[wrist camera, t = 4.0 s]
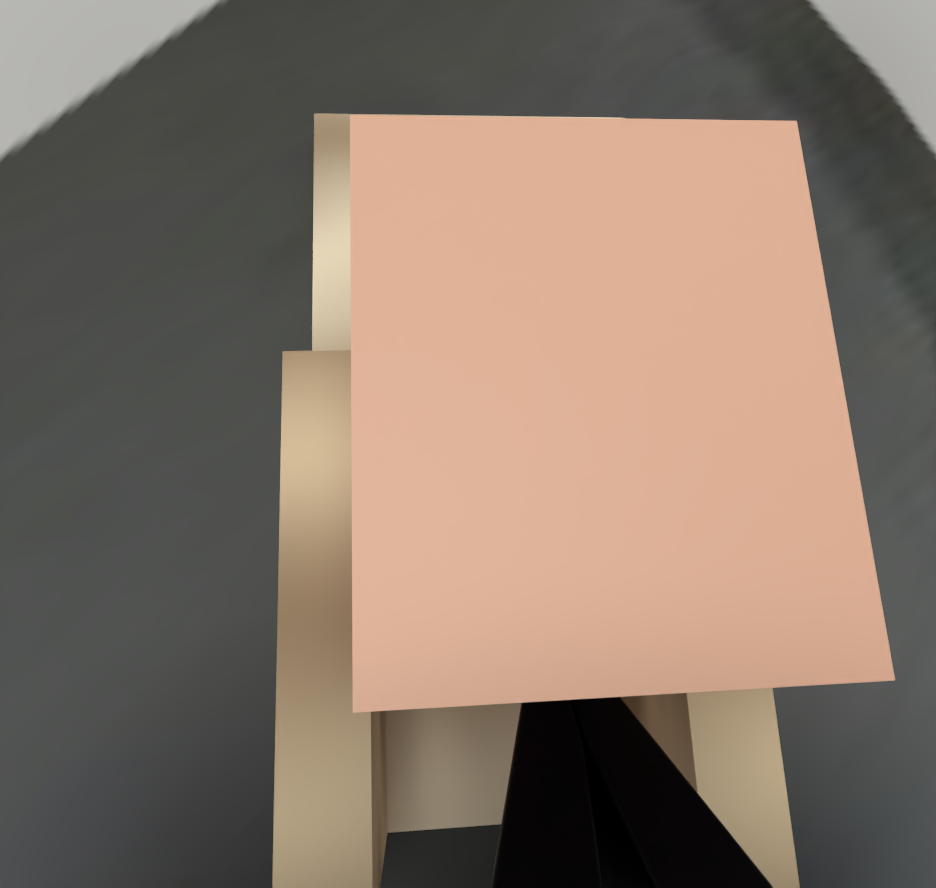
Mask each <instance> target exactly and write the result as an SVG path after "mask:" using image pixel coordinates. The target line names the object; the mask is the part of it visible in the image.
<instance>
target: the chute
mask: <svg viewBox="0 0 936 888" xmlns="http://www.w3.org/2000/svg"><path fill="white" fill-rule="evenodd" d="M350 115H380V114H314V199H313V309H312V351H283V367H282V418H281V470H280V521H279V573H278V624H277V676H276V727H275V779H274V830H273V882H272V888H380V884H381V877H382V870H383V862H384V855H385V847H386V840H387V833H391V832H404V831H417V830H431V829H444V828H457V827H471V826H484V825H498V824H501V822H502V816H503V810H504V804H505V798H506V792H507V786H508V780H509V774H510V768H511V762H512V756H513V750H514V744H515V738H516V732H517V726H518V720H519V714H520V708H521V703H508V704H491V705H474V706H457V707H441V708H424V709H407V710H391V711H374V712H357V713H353V669H352V452H351V236H350ZM394 116H453V115H394ZM467 117H526V116H467ZM540 118H598V117H540ZM613 119H624V118H613ZM621 698H622V700H623V701H624V702H625V703H626V705H627V706H628V707H629V708H630V710H631V711H632V712H633V713H634V715H635V716H636V717H637V718H638V719H639V721H640V722H641V723H642V724H643V726H644V727H645V728H646V729H647V731H648V732H649V733H650V734H651V736H652V737H653V738H654V739H655V741H656V742H657V743H658V744H659V746H660V747H661V748H662V749H663V751H664V752H665V753H666V754H667V756H668V757H669V758H670V759H671V761H672V762H673V763H674V764H675V766H676V767H677V768H678V769H679V770H680V772H681V773H682V774H683V775H684V777H685V778H686V779H687V780H688V782H689V783H690V784H691V785H692V787H693V788H694V789H695V790H696V792H697V793H698V794H699V795H700V797H701V798H702V799H703V800H704V802H705V803H706V804H707V805H708V807H709V808H710V809H711V810H712V812H713V813H714V814H715V815H716V817H717V818H718V819H719V820H720V821H721V823H722V824H723V825H724V826H725V828H726V829H727V830H728V831H729V833H730V834H731V835H732V836H733V838H734V839H735V840H736V841H737V843H738V844H739V845H740V846H741V848H742V849H743V850H744V851H745V853H746V854H747V855H748V856H749V858H750V859H751V860H752V861H753V863H754V864H755V865H756V866H757V868H758V869H759V870H760V871H761V873H762V874H763V875H764V876H765V877H766V879H767V880H768V881H769V882H770V884H771V885H772V887H773V888H800V885H799V878H798V870H797V863H796V856H795V849H794V841H793V834H792V827H791V819H790V812H789V805H788V797H787V790H786V783H785V776H784V768H783V761H782V754H781V746H780V739H779V732H778V724H777V717H776V710H775V703H774V695H773V688H759V689H742V690H725V691H708V692H692V693H675V694H658V695H642V696H625V697H621Z"/></svg>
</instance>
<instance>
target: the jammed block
mask: <svg viewBox="0 0 936 888" xmlns="http://www.w3.org/2000/svg"><path fill="white" fill-rule="evenodd" d="M350 236H351V452H352V669H353V713H357V712H374V711H391V710H407V709H424V708H441V707H457V706H474V705H491V704H508V703H524V702H541V701H558V700H575V699H591V698H608V697H625V696H642V695H658V694H675V693H692V692H708V691H725V690H742V689H759V688H775V687H792V686H809V685H826V684H842V683H859V682H876V681H893V680H895V677H894V671H893V665H892V660H891V654H890V648H889V643H888V637H887V631H886V626H885V620H884V614H883V609H882V603H881V597H880V592H879V586H878V580H877V574H876V569H875V563H874V557H873V552H872V546H871V540H870V535H869V529H868V523H867V518H866V512H865V506H864V501H863V495H862V489H861V484H860V478H859V472H858V467H857V461H856V455H855V449H854V444H853V438H852V432H851V427H850V421H849V415H848V410H847V404H846V398H845V393H844V387H843V381H842V376H841V370H840V364H839V359H838V353H837V347H836V342H835V336H834V330H833V324H832V319H831V313H830V307H829V302H828V296H827V290H826V285H825V279H824V273H823V268H822V262H821V256H820V251H819V245H818V239H817V234H816V228H815V222H814V216H813V211H812V205H811V199H810V194H809V188H808V182H807V177H806V171H805V165H804V160H803V154H802V148H801V143H800V137H799V131H798V126H797V121H760V120H687V119H613V118H540V117H467V116H394V115H350Z"/></svg>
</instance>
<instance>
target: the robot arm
mask: <svg viewBox="0 0 936 888" xmlns="http://www.w3.org/2000/svg"><path fill="white" fill-rule="evenodd" d="M491 888H773V887H772V885H771V884H770V882H769V881H768V880H767V879H766V877H765V876H764V875H763V874H762V873H761V871H760V870H759V869H758V868H757V866H756V865H755V864H754V863H753V861H752V860H751V859H750V858H749V856H748V855H747V854H746V853H745V851H744V850H743V849H742V848H741V846H740V845H739V844H738V843H737V841H736V840H735V839H734V838H733V836H732V835H731V834H730V833H729V831H728V830H727V829H726V828H725V826H724V825H723V824H722V823H721V821H720V820H719V819H718V818H717V817H716V815H715V814H714V813H713V812H712V810H711V809H710V808H709V807H708V805H707V804H706V803H705V802H704V800H703V799H702V798H701V797H700V795H699V794H698V793H697V792H696V790H695V789H694V788H693V787H692V785H691V784H690V783H689V782H688V780H687V779H686V778H685V777H684V775H683V774H682V773H681V772H680V770H679V769H678V768H677V767H676V766H675V764H674V763H673V762H672V761H671V759H670V758H669V757H668V756H667V754H666V753H665V752H664V751H663V749H662V748H661V747H660V746H659V744H658V743H657V742H656V741H655V739H654V738H653V737H652V736H651V734H650V733H649V732H648V731H647V729H646V728H645V727H644V726H643V724H642V723H641V722H640V721H639V719H638V718H637V717H636V716H635V715H634V713H633V712H632V711H631V710H630V708H629V707H628V706H627V705H626V703H625V702H624V701H623V700H622V698H621V697H608V698H591V699H575V700H558V701H541V702H524V703H521V708H520V714H519V720H518V726H517V732H516V738H515V744H514V750H513V756H512V762H511V768H510V774H509V780H508V786H507V792H506V798H505V804H504V810H503V816H502V822H501V828H500V834H499V840H498V846H497V853H496V859H495V865H494V871H493V877H492V883H491Z"/></svg>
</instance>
